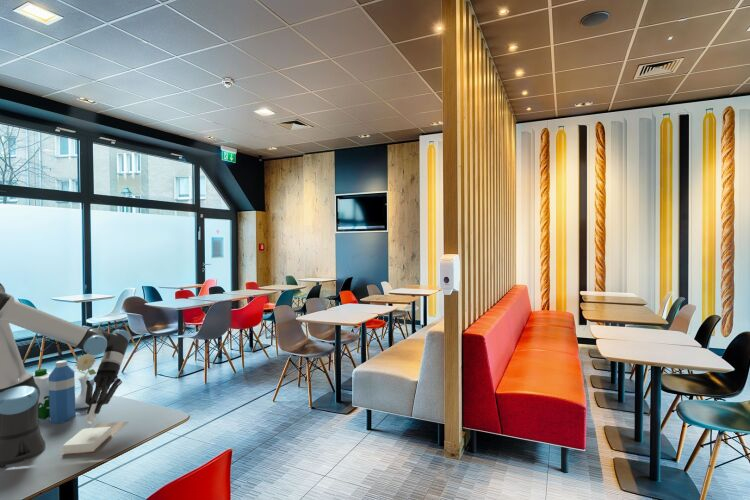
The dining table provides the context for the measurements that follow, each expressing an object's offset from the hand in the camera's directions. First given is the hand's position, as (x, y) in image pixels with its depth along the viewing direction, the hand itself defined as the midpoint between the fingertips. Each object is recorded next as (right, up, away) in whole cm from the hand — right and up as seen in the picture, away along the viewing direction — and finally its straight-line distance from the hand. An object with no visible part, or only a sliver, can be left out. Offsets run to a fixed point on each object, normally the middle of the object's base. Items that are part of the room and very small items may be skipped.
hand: (89, 422), depth 151 cm
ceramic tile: (-1, -6, +5) cm, 8 cm away
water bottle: (-28, -9, +23) cm, 37 cm away
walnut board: (-1, -8, +5) cm, 10 cm away
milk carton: (-38, -9, +27) cm, 48 cm away
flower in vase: (-27, -8, +36) cm, 46 cm away
